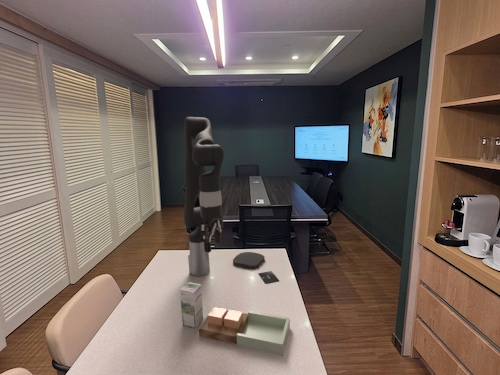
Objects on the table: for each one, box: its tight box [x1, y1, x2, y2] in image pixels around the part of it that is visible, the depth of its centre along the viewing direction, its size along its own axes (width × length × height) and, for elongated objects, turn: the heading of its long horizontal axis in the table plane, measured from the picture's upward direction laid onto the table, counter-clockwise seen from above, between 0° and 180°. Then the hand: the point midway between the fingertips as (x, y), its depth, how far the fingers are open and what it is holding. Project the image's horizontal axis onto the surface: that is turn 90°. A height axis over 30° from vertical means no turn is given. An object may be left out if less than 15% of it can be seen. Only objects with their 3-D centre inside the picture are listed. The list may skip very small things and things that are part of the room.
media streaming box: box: [232, 251, 266, 270], centre depth 150 cm, size 15×15×3 cm
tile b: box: [224, 309, 243, 329], centre depth 98 cm, size 5×5×3 cm
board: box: [198, 309, 248, 346], centre depth 99 cm, size 14×12×3 cm
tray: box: [236, 310, 291, 357], centre depth 95 cm, size 15×13×4 cm
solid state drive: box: [258, 270, 280, 285], centre depth 134 cm, size 7×10×1 cm
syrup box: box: [179, 281, 204, 329], centre depth 102 cm, size 6×6×14 cm
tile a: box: [207, 306, 228, 326], centre depth 100 cm, size 5×5×3 cm
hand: (213, 246), depth 101 cm, fingers open, 8 cm apart
